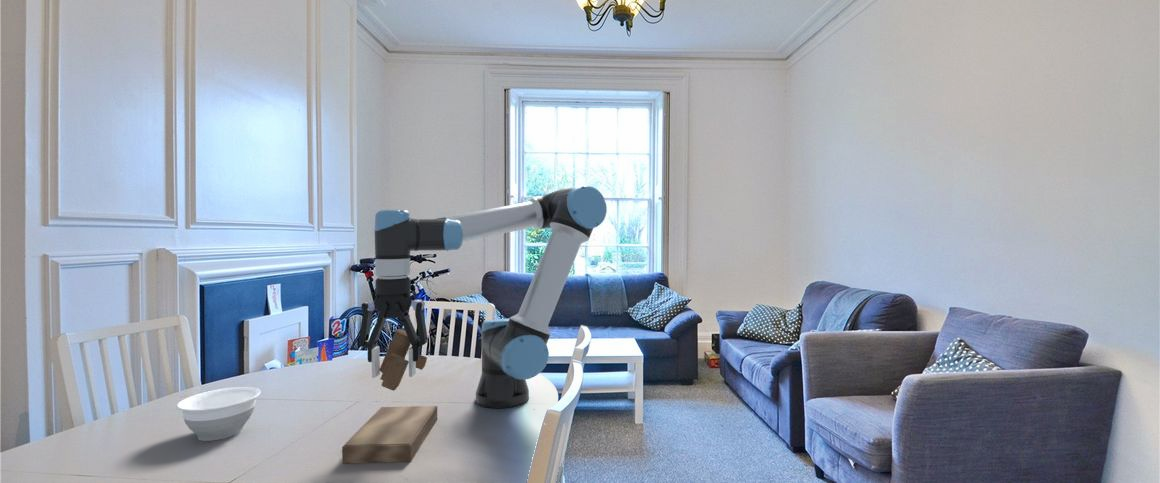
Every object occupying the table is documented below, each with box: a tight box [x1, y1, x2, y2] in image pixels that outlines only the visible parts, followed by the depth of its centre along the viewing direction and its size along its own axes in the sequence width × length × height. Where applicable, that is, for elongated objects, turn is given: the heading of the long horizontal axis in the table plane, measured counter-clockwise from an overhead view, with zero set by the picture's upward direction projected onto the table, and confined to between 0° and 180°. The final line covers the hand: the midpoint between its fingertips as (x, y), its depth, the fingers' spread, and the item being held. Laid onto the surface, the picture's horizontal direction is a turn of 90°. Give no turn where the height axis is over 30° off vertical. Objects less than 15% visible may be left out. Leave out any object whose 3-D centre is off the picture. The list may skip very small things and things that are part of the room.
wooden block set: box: [379, 328, 428, 391], centre depth 108 cm, size 18×9×10 cm, turn 4°
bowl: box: [176, 386, 262, 442], centre depth 112 cm, size 16×16×8 cm
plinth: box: [341, 405, 438, 464], centre depth 108 cm, size 14×22×4 cm, turn 3°
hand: (394, 375), depth 108 cm, fingers closed on wooden block set, 8 cm apart
